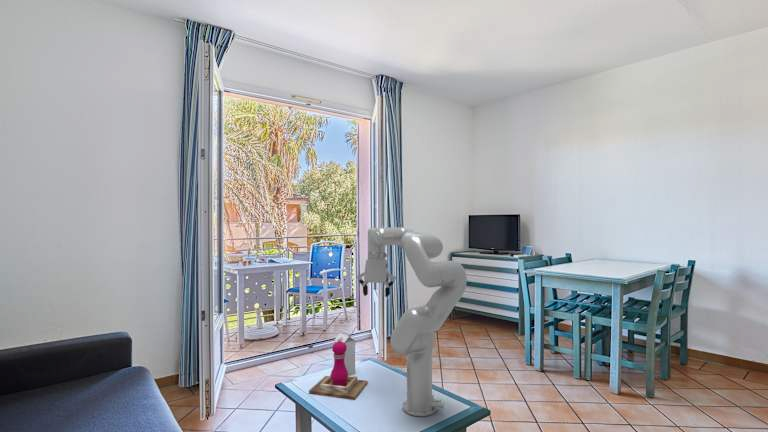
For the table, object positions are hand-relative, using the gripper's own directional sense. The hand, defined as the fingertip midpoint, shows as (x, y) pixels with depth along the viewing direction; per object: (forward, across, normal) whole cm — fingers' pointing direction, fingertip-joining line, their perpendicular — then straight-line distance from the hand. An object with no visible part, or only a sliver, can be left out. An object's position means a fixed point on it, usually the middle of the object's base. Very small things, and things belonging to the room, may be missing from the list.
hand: (376, 295), depth 170 cm
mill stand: (+38, +14, +8) cm, 42 cm away
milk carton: (+38, +18, -8) cm, 43 cm away
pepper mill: (+37, +14, +8) cm, 41 cm away
